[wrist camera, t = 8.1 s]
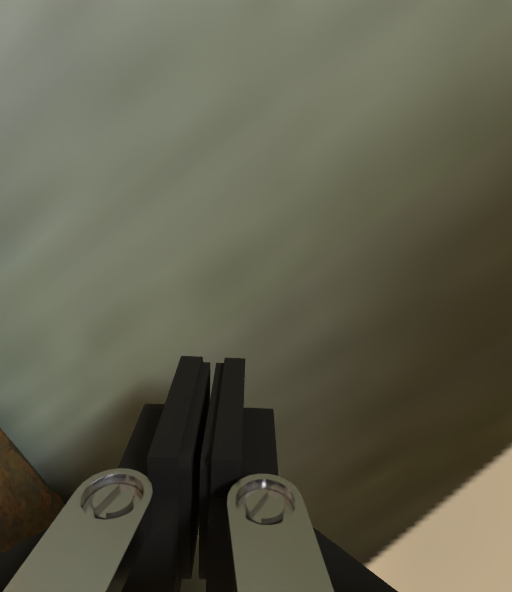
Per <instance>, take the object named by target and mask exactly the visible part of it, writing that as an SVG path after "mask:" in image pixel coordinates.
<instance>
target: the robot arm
mask: <svg viewBox="0 0 512 592" xmlns="http://www.w3.org/2000/svg"><path fill="white" fill-rule="evenodd" d="M244 377H245V359H241V358H225V360H224V363H216V368H215V374H214V380H213V386H212V392H211V398H210V363H208V362H203V357H195V356H181V358H180V361H179V364H178V367H177V370H176V373H175V376H174V379H173V382H172V385H171V388H170V391H169V394H168V397H167V400H166V403H165V405H164V404H145V406H144V407H143V410H142V412H141V414H140V417H139V419H138V422H137V424H136V426H135V429H134V431H133V434H132V436H131V439H130V441H129V443H128V446H127V448H126V451H125V453H124V455H123V458H122V460H121V463H120V465H119V467H118V468H117V469H111V470H106V471H103V472H100V473H98V474H95V475H93V476H92V477H90V478H89V479H87V480H86V481H84V482H83V483H82V484H81V485H80V486H79V487H78V488H77V489H76V491H75V492H74V494H73V495H72V496H71V498H70V499H69V500H68V502H67V503H66V505H65V506H64V507H63V509H62V510H61V512H60V513H59V514H58V516H57V517H56V519H55V520H54V521H53V523H52V524H51V525H50V527H49V528H47V529H45V530H43V531H41V532H40V533H38V534H36V535H34V536H32V537H30V538H29V539H27V540H25V541H23V542H21V543H19V544H18V545H16V546H14V547H12V548H10V549H8V550H6V551H5V552H3V553H1V554H0V592H180V586H181V580H182V579H191V576H192V569H193V562H194V555H195V548H196V541H197V534H198V527H199V579H206V592H398V591H396V590H395V589H394V588H392V587H391V586H390V585H388V584H387V583H386V582H384V581H383V580H382V579H380V578H379V577H378V576H376V575H375V574H374V573H373V572H371V571H370V570H369V569H367V568H366V567H365V566H363V565H362V564H361V563H359V562H358V561H357V560H355V559H354V558H353V557H351V556H350V555H349V554H348V553H346V552H345V551H344V550H342V549H341V548H340V547H338V546H337V545H336V544H334V543H333V542H332V541H330V540H329V539H328V538H326V537H325V536H324V535H323V534H321V533H320V532H319V531H317V530H316V529H315V528H313V527H312V524H311V521H310V518H309V515H308V512H307V509H306V506H305V503H304V500H303V497H302V495H301V494H300V492H299V490H298V489H297V488H296V487H295V486H294V485H293V484H292V483H291V482H290V481H288V480H286V479H284V478H282V477H279V476H278V467H277V453H276V440H275V426H274V413H273V409H263V408H243V404H244Z"/></svg>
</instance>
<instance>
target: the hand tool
mask: <svg viewBox="0 0 512 592" xmlns="http://www.w3.org/2000/svg"><path fill="white" fill-rule="evenodd" d="M64 506H65V503H64V502H63V500H62V499H61V497H60V496H59V495H58V494H56V493H55V492H54V491H53V490H52V489H51V488H50V487H49V486H48V485H47V484H46V482H45V481H44V480H43V479H42V477H41V476H40V475H39V474H38V473H37V471H36V470H35V469H34V468H33V467H32V465H31V464H30V463H29V462H28V461H27V459H26V458H25V457H24V456H23V455H22V453H21V452H20V451H19V450H18V449H17V447H16V446H15V445H14V444H13V443H12V442H11V440H10V439H9V438H8V437H7V436H6V434H5V433H4V432H3V431H2V430H1V429H0V554H1V553H3V552H5V551H6V550H8V549H10V548H12V547H14V546H16V545H18V544H19V543H21V542H23V541H25V540H27V539H29V538H30V537H32V536H34V535H36V534H38V533H40V532H41V531H43V530H45V529H47V528H49V527H50V525H51V524H52V523H53V521H54V520H55V519H56V517H57V516H58V514H59V513H60V512H61V510H62V509H63V507H64Z"/></svg>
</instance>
